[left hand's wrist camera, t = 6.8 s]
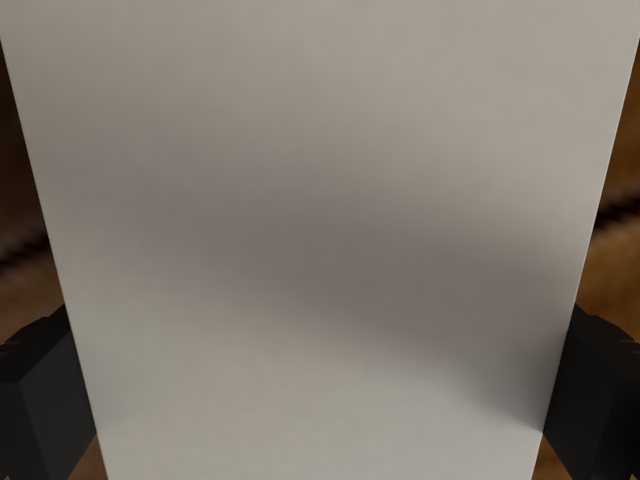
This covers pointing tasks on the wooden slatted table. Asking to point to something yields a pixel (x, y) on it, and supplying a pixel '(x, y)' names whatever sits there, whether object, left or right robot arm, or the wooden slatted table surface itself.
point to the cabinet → (319, 222)
